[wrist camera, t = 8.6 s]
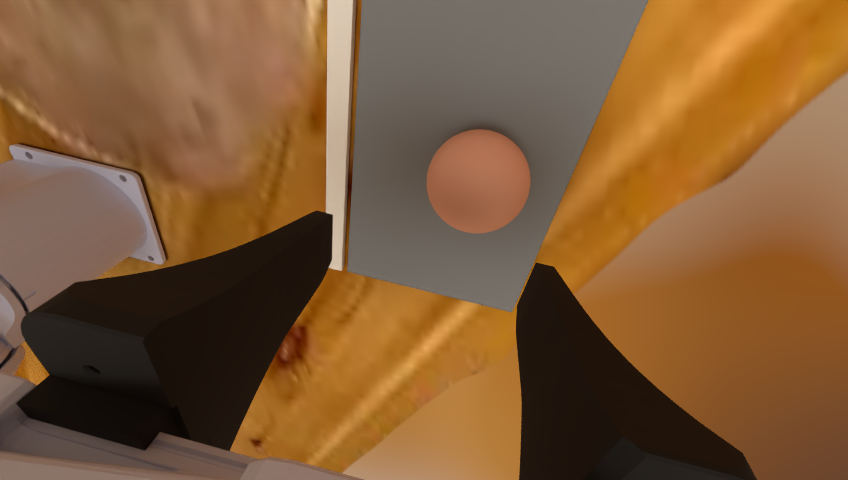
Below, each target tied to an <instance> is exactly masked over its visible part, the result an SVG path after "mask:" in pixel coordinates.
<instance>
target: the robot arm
mask: <svg viewBox="0 0 848 480" xmlns="http://www.w3.org/2000/svg"><path fill="white" fill-rule="evenodd" d="M9 150H10V152H11V154H12V156H13V158H14V159H13V160H10V161H6V162H3V163H0V480H363V479H359V478H356V477H352V476H349V475H345V474H342V473H338V472H334V471H331V470H327V469H323V468H320V467H316V466H313V465H309V464H305V463H302V462H298V461H294V460H289V459H282V458H276V457H268V458H263V459H256V458H252V457H248V456H245V455H241V454H238V453H234V452H230V448H231V446H232V444H233V442H234V439H235V437H236V435H237V433H238V430H239V428H240V426H241V423H242V421H243V419H244V417H245V415H246V413H247V411H248V409H249V406H250V404H251V402H252V400H253V398H254V396H255V394H256V392H257V390H258V388H259V386H260V384H261V382H262V380H263V378H264V376H265V374H266V372H267V370H268V368H269V366H270V364H271V362H272V360H273V358H274V356H275V354H276V352H277V351H278V349H279V347H280V345H281V343H282V341H283V340H284V338H285V336H286V335H287V333H288V331H289V330H290V328H291V327H292V325H293V324H294V322H295V321H296V319H297V318H298V317H299V315H300V314H301V312H302V311H303V309H304V308H305V306H306V305H307V303H308V302H309V300H310V299H311V297H312V296H313V294H314V293H315V291H316V290H317V288H318V287H319V285H320V284H321V282H322V280H323V278H324V276H325V274H326V272H327V270H328V268H329V266H330V263H331V261H332V237H333V215H332V214H328V213H324V212H320V211H315V212H312V213H310V214H308V215H306V216H304V217H302V218H300V219H298V220H296V221H294V222H292V223H290V224H288V225H286V226H284V227H282V228H279V229H277V230H275V231H273V232H271V233H269V234H267V235H264V236H262V237H260V238H258V239H255V240H253V241H251V242H248V243H246V244H244V245H241V246H238V247H236V248H233V249H230V250H228V251H225V252H222V253H219V254H216V255H213V256H209V257H206V258H203V259H199V260H195V261H191V262H187V263H184V264H180V265H176V266H172V267H168V268H163V269H158V270H154V271H148V272H143V273H137V274H132V275H126V276H119V277H111V278H104V279H97V278H98V277H100V276H101V275H102V274H104V273H105V272H107V271H108V270H110V269H111V268H113V267H114V266H116V265H117V264H118V263H120V262H121V261H123V260H124V259H126V258H127V257H132V258H136V259H140V260H144V261H148V262H152V263H156V264H163V263H164V262H165V261H166V257H165V254H164V251H163V248H162V245H161V241H160V238H159V235H158V232H157V229H156V226H155V223H154V219H153V216H152V213H151V210H150V207H149V204H148V201H147V197H146V194H145V191H144V188H143V185H142V182H141V179H140V177H139V176H138V175H137V174H136V173H134V172H132V171H128V170H124V169H120V168H115V167H111V166H107V165H103V164H99V163H95V162H91V161H86V160H82V159H78V158H74V157H70V156H66V155H61V154H57V153H53V152H49V151H45V150H41V149H36V148H32V147H28V146H24V145H20V144H14V145H11V146H9ZM95 279H96V280H95ZM516 338H517V349H518V361H519V371H520V382H521V396H522V422H521V423H522V425H521V455H520V475H519V480H757V479H756V477H755V475H754V473H753V471H752V469H751V468H750V466H749V464H748V462H747V460H746V458H745V457H744V455H743V453H742V452H740V451H739V450H737V449H736V448H735V447H733V446H732V445H731V444H729V443H728V442H726V441H725V440H724V439H722V438H721V437H719V436H718V435H717V434H715V433H714V432H712V431H711V430H709V429H708V428H707V427H705V426H704V425H703V424H701V423H700V422H698V421H697V420H696V419H694V418H693V417H692V416H691V415H689V414H688V413H687V412H686V411H684V410H683V409H682V408H681V407H679V406H678V405H677V404H675V403H674V402H673V401H672V400H671V399H670V398H668V397H667V396H666V395H665V394H663V393H662V392H661V391H660V390H659V389H657V387H655V386H654V385H653V384H652V383H651V382H650V381H649V380H648V379H647V378H646V377H644V376H643V375H642V374H641V373H640V372H639V371H638V370H637V369H636V368H635V367H634V366H633V365H632V364H631V363H630V362H628V360H627V359H626V358H625V357H624V356H623V355H622V354H621V353H620V352H619V351H618V350H617V349H616V348H615V347H614V346H613V344H612V343H611V342H610V341H609V340H608V339H607V338H606V336H605V335H604V334H603V333H602V332H601V330H600V329H599V328H598V327H597V326H596V324H595V323H594V322H593V321H592V320H591V318H590V317H589V316H588V314H587V313H586V312H585V310H584V309H583V308H582V306H581V305H580V304H579V302H578V301H577V299H576V298H575V296H574V295H573V294H572V292H571V291H570V289H569V288H568V286H567V285H566V283H565V282H564V281H563V279H562V278H561V276H560V275H559V273H558V272H557V270H556V269H555V268H554V267H552V266H548V265H544V264H540V263H536V264H535V266H534V268H533V270H532V273H531V275H530V277H529V280H528V282H527V284H526V286H525V289H524V291H523V293H522V296H521V298H520V300H519V302H518V305H517V318H516ZM24 341H26V343H27V344H28V346H29V347H30V348H31V350H32V351H33V352H34V354H35V355H36V357H37V358H38V359H39V361H40V362H41V363H42V365H43V366H44V368H45V369H46V370H47V372H48V373H49V374H50V375H49V376H48V377H47V378H46V379H45V380H43V381H42V382H41V383H40V384H39V385H37V386H36V385H35V384H34V383H32V382H30V381H29V380H27V379H24V378H22V377H18V376H15V375H14V374H15V373H16V371H17V370H18V367H19V365H20V364H21V362H22V360H23V358H24V355H25V349H24V347H23V346H22V345H20V344H22V343H23V342H24Z"/></svg>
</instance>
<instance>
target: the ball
mask: <svg viewBox="0 0 848 480" xmlns="http://www.w3.org/2000/svg"><path fill="white" fill-rule="evenodd" d="M530 181H531V179H530V170H529V166H528V163H527V160H526V158H525V156H524V154H523V153H522V151H521V150H520V148H519V147H518V146H517V145H516V144H515V143H514V142H513V141H512V140H510V139H509V138H507V137H506V136H504V135H502V134H500V133H497V132H494V131H491V130H484V129H475V130H469V131H465V132H462V133H459V134H457V135H455V136H453V137H451V138H450V139H449V140H447V141H446V142H445V143H444V144H443V145H442V146H441V147H440V148H439V149H438V150H437V152H436V153H435V155H434V156H433V158H432V160H431V163H430V165H429V168H428V172H427V192H428V197H429V200H430V202H431V205H432V207H433V208H434V210H435V212H436V213H437V214H438V215H439V217H440V218H441V219H442V220H443V221H445V222H446V223H447V224H448V225H450V226H452V227H453V228H455V229H457V230H460V231H464V232H467V233H487V232H491V231H495V230H497V229H500V228H502V227H503V226H505V225H507V224H508V223H510V222H511V221H512V220H513V219H514V218H515V217H516V216H517V215H518V214H519V213H520V211H521V210H522V208H523V206H524V205H525V202H526V200H527V198H528V195H529V190H530Z"/></svg>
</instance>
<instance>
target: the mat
mask: <svg viewBox="0 0 848 480" xmlns="http://www.w3.org/2000/svg"><path fill="white" fill-rule="evenodd" d="M356 1H357V0H328V26H327V145H326V213H328V214H332V215H333V237H332V261H331V263H330V266H329V268H331V269H335V270H340V271H342V269H343V268H344V256H345V235H346V214H347V192H348V171H349V150H350V129H351V107H352V86H353V65H354V43H355V22H356ZM647 2H648V0H362V12H361V30H360V49H359V67H358V85H357V104H356V122H355V140H354V159H353V177H352V196H351V214H350V232H349V251H348V269H347V271H348V272H352V273H356V274H360V275H364V276H368V277H372V278H376V279H380V280H384V281H388V282H392V283H396V284H400V285H404V286H408V287H412V288H416V289H420V290H424V291H428V292H432V293H436V294H440V295H444V296H448V297H452V298H456V299H460V300H464V301H468V302H473V303H477V304H481V305H485V306H489V307H493V308H497V309H501V310H505V311H509V312H512V311H513V309H514V306H515V304H516V302H517V299H518V297H519V295H520V293H521V290H522V288H523V286H524V283H525V281H526V279H527V277H528V274H529V272H530V270H531V267H532V265H533V263H534V261H535V258H536V256H537V254H538V251H539V249H540V247H541V245H542V242H543V240H544V238H545V235H546V233H547V231H548V229H549V226H550V224H551V222H552V219H553V217H554V215H555V213H556V210H557V208H558V206H559V203H560V201H561V199H562V197H563V194H564V192H565V190H566V187H567V185H568V183H569V181H570V178H571V176H572V174H573V171H574V169H575V167H576V165H577V162H578V160H579V158H580V155H581V153H582V151H583V149H584V146H585V144H586V142H587V139H588V137H589V135H590V133H591V130H592V128H593V126H594V123H595V121H596V119H597V117H598V114H599V112H600V110H601V107H602V105H603V103H604V101H605V98H606V96H607V94H608V91H609V89H610V87H611V85H612V82H613V80H614V78H615V75H616V73H617V71H618V69H619V66H620V64H621V62H622V59H623V57H624V55H625V53H626V50H627V48H628V46H629V43H630V41H631V39H632V37H633V34H634V32H635V30H636V27H637V25H638V23H639V21H640V18H641V16H642V14H643V12H644V9H645V7H646V5H647ZM475 129H484V130H491V131H494V132H497V133H500V134H502V135H504V136H506V137H507V138H509V139H510V140H512V141H513V142H514V143H515V144H516V145H517V146H518V147H519V148H520V150H521V151H522V153H523V154H524V156H525V158H526V160H527V163H528V166H529V170H530V179H531V181H530V190H529V195H528V198H527V200H526V202H525V205H524V206H523V208H522V210H521V211H520V213H519V214H518V215H517V216H516V217H515V218H514V219H513V220H512V221H511V222H510V223H508V224H507V225H505V226H503V227H502V228H500V229H497V230H495V231H491V232H487V233H467V232H464V231H460V230H457V229H455V228H453V227H452V226H450V225H448V224H447V223H446V222H445V221H443V220H442V219H441V218H440V217H439V215H438V214H437V213H436V212H435V210H434V208H433V207H432V205H431V202H430V200H429V197H428V192H427V172H428V168H429V165H430V163H431V160H432V158H433V156H434V155H435V153H436V152H437V150H438V149H439V148H440V147H441V146H442V145H443V144H444V143H445V142H446V141H447V140H449V139H450V138H451V137H453V136H455V135H457V134H459V133H462V132H465V131H469V130H475Z"/></svg>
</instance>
